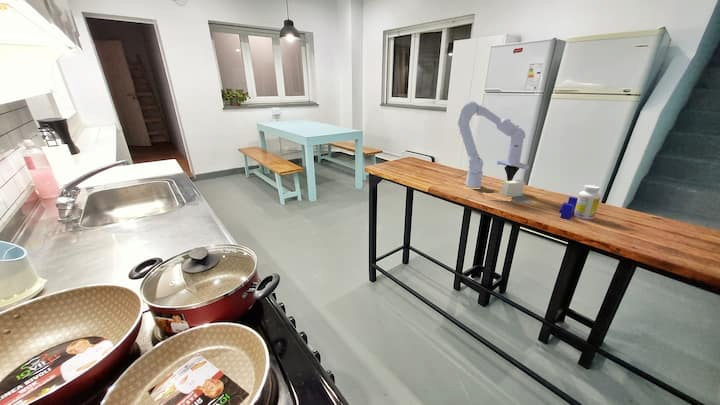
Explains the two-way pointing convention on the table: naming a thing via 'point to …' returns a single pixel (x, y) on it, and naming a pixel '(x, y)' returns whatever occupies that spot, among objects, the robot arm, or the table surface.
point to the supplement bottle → (587, 202)
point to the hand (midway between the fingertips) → (509, 180)
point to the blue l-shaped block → (568, 208)
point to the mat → (520, 199)
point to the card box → (513, 188)
